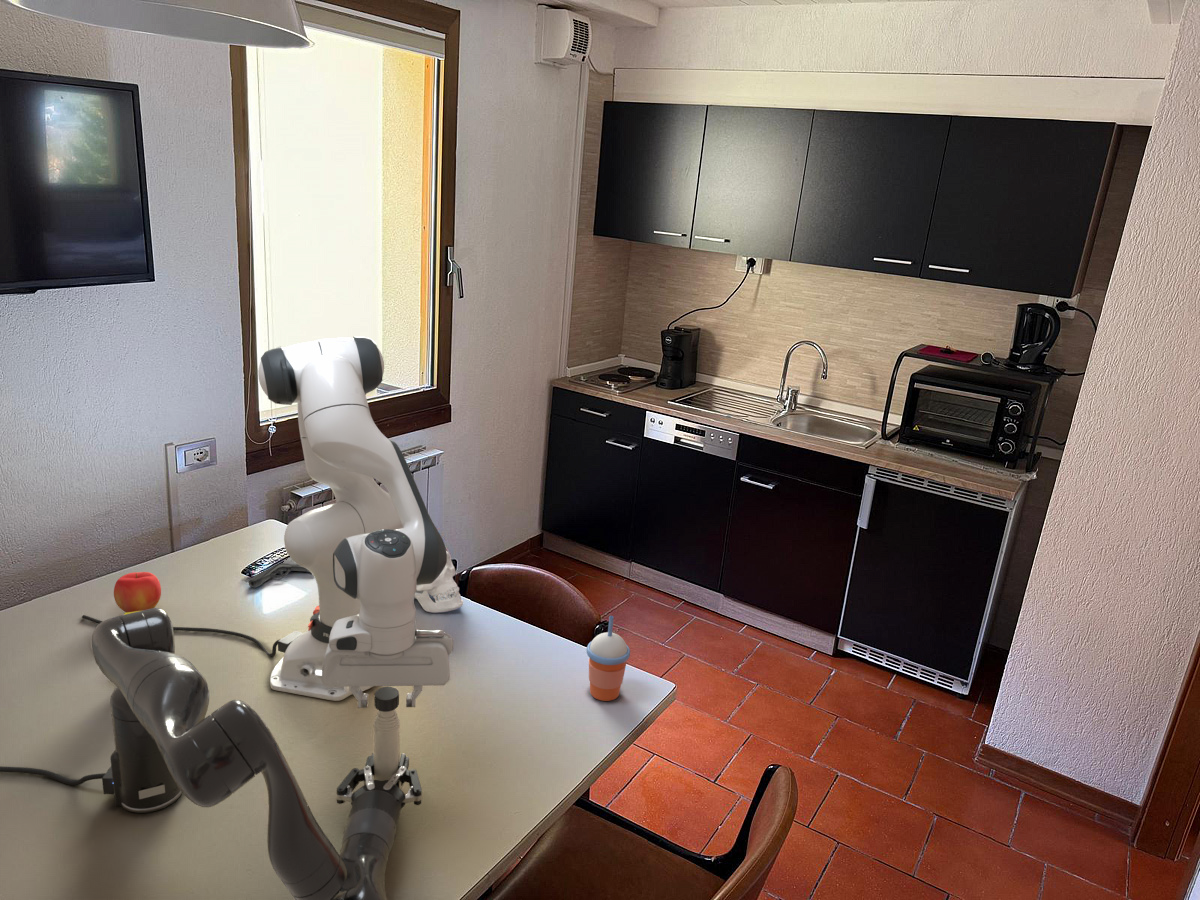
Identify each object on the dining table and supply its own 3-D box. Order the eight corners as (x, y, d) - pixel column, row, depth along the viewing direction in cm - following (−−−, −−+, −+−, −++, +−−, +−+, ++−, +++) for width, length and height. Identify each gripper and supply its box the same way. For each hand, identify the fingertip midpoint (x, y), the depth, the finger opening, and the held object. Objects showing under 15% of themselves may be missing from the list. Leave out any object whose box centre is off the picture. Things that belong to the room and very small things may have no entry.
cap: (375, 698, 141) (375, 687, 141) (399, 697, 142) (399, 686, 142) (374, 712, 138) (373, 700, 137) (398, 711, 139) (398, 699, 138)
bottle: (372, 791, 147) (372, 691, 141) (397, 788, 148) (398, 688, 142) (374, 808, 143) (374, 706, 137) (400, 804, 144) (401, 703, 138)
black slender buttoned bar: (292, 594, 211) (247, 586, 213) (325, 565, 228) (283, 558, 229) (291, 586, 211) (246, 578, 212) (325, 557, 227) (283, 550, 229)
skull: (448, 622, 203) (451, 561, 199) (372, 599, 211) (374, 540, 207) (477, 602, 215) (480, 543, 211) (405, 581, 223) (406, 524, 219)
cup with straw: (621, 709, 175) (629, 631, 170) (578, 700, 177) (585, 623, 172) (629, 685, 184) (636, 610, 179) (588, 677, 185) (594, 603, 180)
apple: (166, 618, 196) (163, 578, 193) (118, 627, 190) (114, 586, 187) (159, 600, 203) (156, 561, 200) (113, 608, 198) (109, 569, 195)
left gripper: (418, 810, 130) (431, 739, 146) (322, 808, 128) (346, 737, 145) (417, 850, 132) (430, 776, 148) (323, 849, 131) (346, 775, 147)
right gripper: (454, 621, 141) (451, 693, 145) (325, 620, 137) (326, 695, 142) (453, 640, 135) (450, 716, 139) (318, 641, 131) (320, 718, 136)
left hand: (389, 757), depth 146 cm, fingers closed on bottle, 4 cm apart
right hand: (387, 705), depth 140 cm, fingers open, 6 cm apart
